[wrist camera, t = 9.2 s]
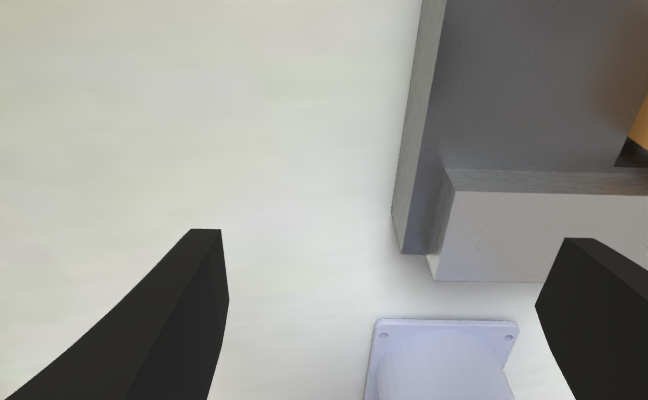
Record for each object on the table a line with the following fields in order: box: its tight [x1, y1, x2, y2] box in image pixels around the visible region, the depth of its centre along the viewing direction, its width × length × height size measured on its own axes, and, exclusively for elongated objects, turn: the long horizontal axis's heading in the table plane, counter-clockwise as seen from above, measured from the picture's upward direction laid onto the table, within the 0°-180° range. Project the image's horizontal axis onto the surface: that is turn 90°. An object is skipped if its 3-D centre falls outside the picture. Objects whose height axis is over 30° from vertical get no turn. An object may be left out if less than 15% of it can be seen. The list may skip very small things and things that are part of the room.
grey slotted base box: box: [391, 0, 648, 283], centre depth 14 cm, size 16×14×4 cm
